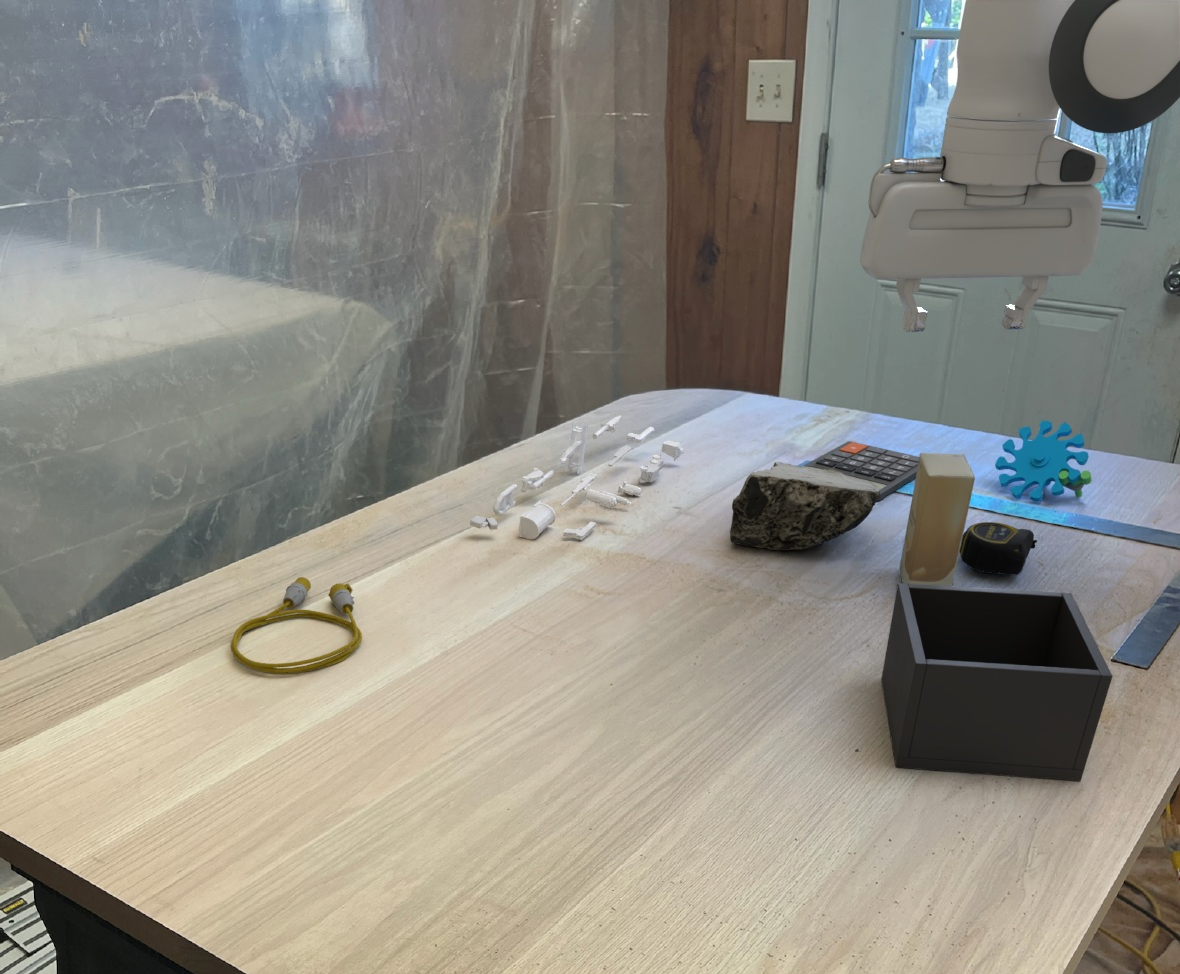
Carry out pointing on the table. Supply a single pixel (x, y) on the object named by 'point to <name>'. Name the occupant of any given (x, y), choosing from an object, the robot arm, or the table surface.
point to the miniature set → (545, 515)
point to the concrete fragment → (799, 507)
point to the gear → (1044, 462)
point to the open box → (992, 682)
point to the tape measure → (996, 548)
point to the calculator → (870, 465)
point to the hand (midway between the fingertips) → (963, 329)
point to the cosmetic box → (936, 519)
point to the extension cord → (291, 599)
